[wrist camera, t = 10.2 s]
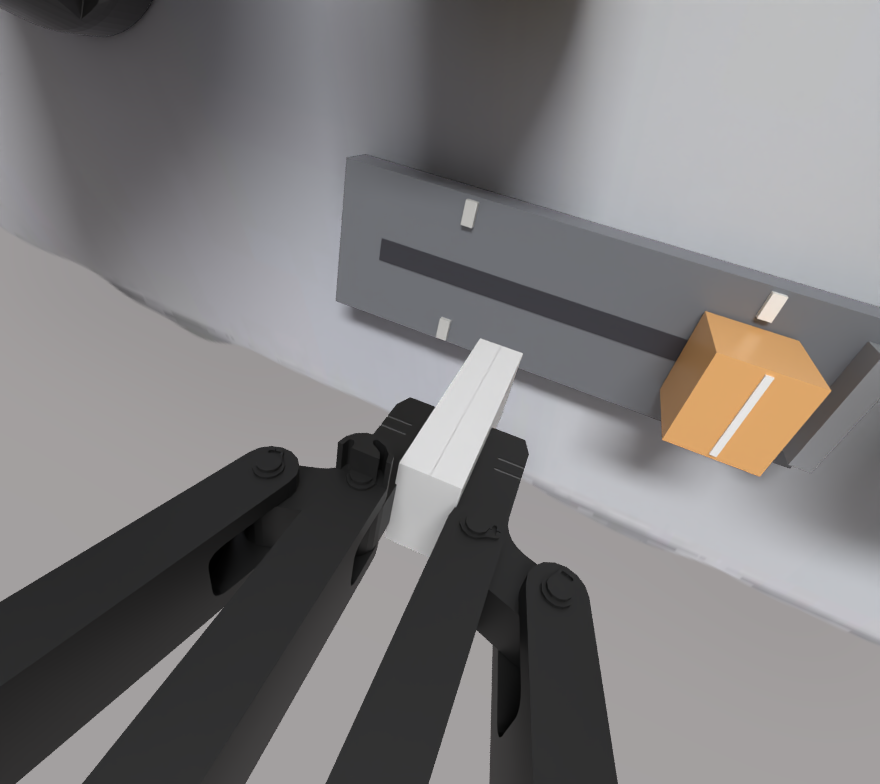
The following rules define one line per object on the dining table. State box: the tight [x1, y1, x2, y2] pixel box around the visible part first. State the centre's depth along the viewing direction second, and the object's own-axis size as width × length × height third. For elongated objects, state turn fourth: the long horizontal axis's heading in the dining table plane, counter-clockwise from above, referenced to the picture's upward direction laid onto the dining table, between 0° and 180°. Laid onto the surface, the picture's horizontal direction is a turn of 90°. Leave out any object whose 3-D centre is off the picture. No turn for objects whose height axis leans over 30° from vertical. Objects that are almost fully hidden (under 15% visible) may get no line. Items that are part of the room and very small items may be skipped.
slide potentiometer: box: [336, 154, 880, 473], centre depth 24 cm, size 26×8×4 cm, turn 79°
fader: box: [660, 311, 831, 477], centre depth 20 cm, size 4×4×5 cm
